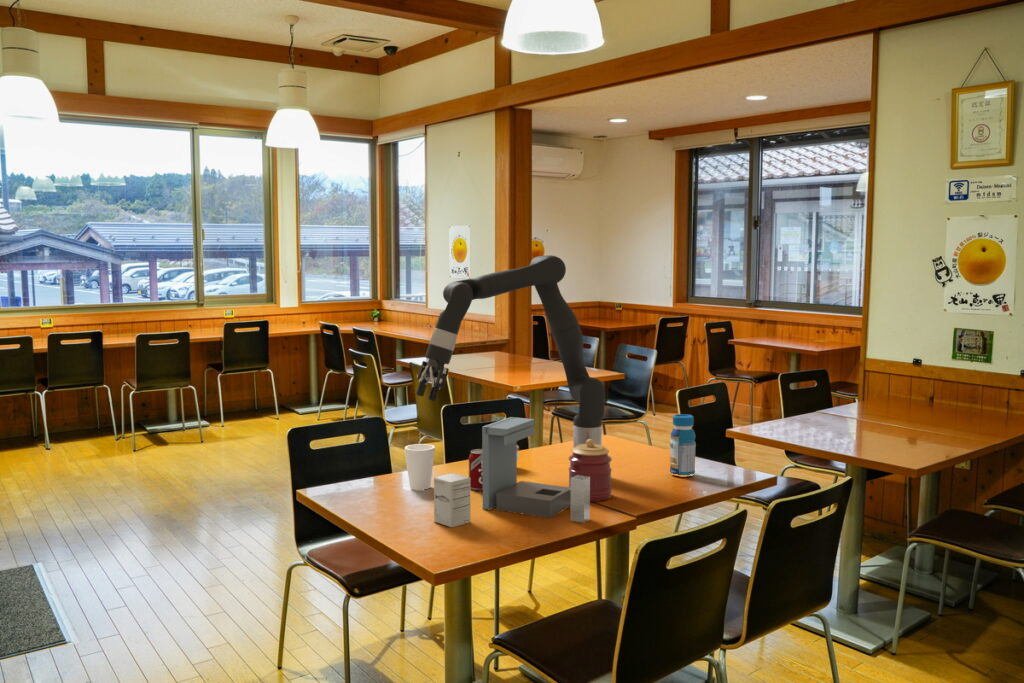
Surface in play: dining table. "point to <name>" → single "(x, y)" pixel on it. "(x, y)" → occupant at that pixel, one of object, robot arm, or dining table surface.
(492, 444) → the coffee dispenser stand
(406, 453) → the foam cup
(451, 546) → the dining table surface
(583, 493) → the peg
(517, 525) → the dining table surface
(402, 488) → the dining table surface
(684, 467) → the beverage bottle
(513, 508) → the socket
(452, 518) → the supplement box
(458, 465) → the dining table surface
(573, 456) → the canister
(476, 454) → the soda can
